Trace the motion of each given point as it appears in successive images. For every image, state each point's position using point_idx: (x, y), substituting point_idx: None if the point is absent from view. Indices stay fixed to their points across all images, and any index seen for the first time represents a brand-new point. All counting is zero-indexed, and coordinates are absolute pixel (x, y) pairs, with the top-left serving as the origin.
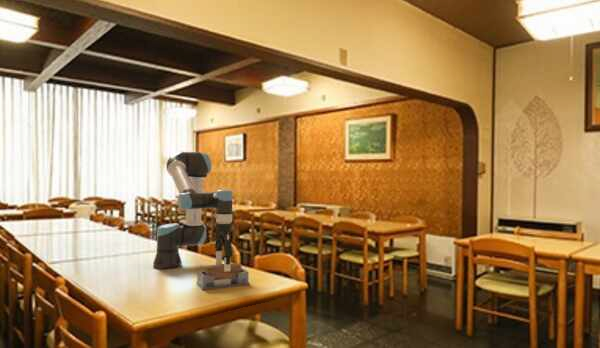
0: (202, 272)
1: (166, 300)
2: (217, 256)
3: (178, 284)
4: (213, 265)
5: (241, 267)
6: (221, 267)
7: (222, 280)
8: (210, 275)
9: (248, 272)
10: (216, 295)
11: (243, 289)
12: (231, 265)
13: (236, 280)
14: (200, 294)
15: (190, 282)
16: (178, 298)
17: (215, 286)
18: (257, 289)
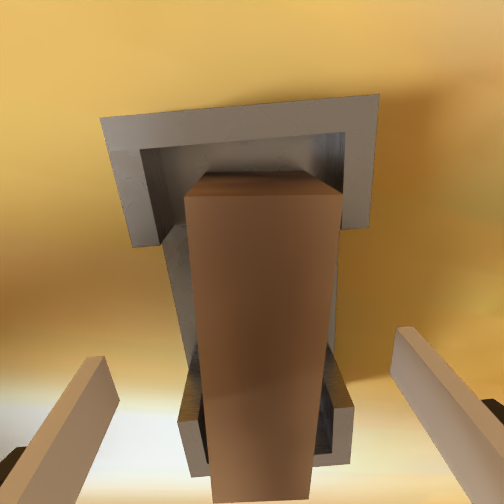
0: (206, 449)
1: (393, 496)
2: (70, 494)
3: (171, 460)
4: (239, 455)
5: (116, 118)
6: (317, 399)
7: None
8: (342, 427)
9: (377, 96)
10: (442, 344)
11: (421, 178)
12: (311, 314)
13: None
14: (383, 400)
15: (145, 419)
16: (391, 467)
17: (333, 343)
18: (483, 68)
